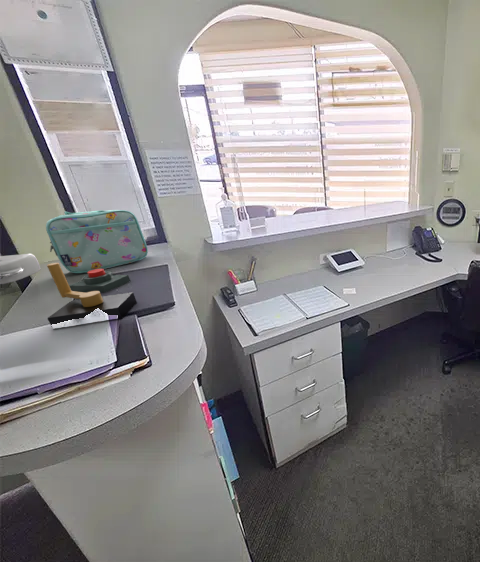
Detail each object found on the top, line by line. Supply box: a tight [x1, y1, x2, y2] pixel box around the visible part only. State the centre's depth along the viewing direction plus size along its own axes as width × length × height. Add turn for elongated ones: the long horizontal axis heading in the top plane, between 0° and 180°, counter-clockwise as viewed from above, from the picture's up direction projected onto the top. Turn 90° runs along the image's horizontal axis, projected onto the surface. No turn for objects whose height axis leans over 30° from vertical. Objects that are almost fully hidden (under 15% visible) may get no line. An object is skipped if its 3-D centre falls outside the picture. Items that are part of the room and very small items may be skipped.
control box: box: [69, 270, 131, 293], centre depth 98 cm, size 12×9×4 cm
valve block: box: [47, 291, 138, 326], centre depth 79 cm, size 14×10×3 cm
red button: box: [86, 269, 106, 278], centre depth 97 cm, size 4×4×2 cm
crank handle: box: [46, 262, 103, 307], centre depth 78 cm, size 12×4×10 cm, turn 73°
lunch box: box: [45, 209, 149, 274], centre depth 114 cm, size 27×10×21 cm, turn 136°
